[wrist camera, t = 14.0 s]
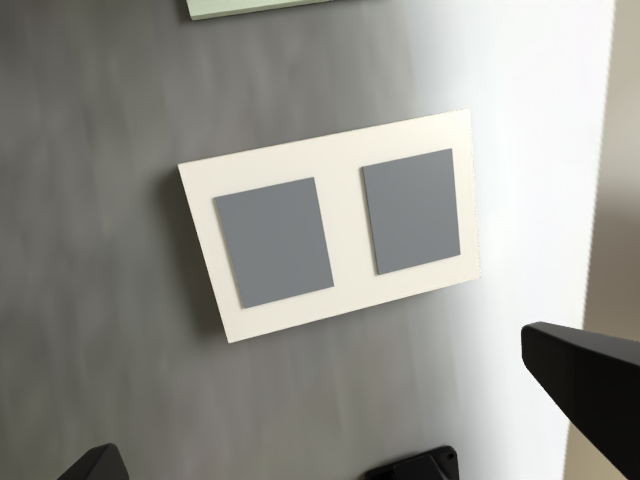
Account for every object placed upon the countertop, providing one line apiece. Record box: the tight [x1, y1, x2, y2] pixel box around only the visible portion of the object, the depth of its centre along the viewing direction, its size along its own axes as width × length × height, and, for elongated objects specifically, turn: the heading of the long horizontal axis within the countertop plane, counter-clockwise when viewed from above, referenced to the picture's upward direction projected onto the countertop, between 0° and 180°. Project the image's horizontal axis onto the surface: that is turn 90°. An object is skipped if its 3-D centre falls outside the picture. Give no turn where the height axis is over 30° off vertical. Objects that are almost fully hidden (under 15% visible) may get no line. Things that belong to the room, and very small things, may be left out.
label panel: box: [178, 108, 481, 343], centre depth 19 cm, size 9×14×2 cm, turn 101°
